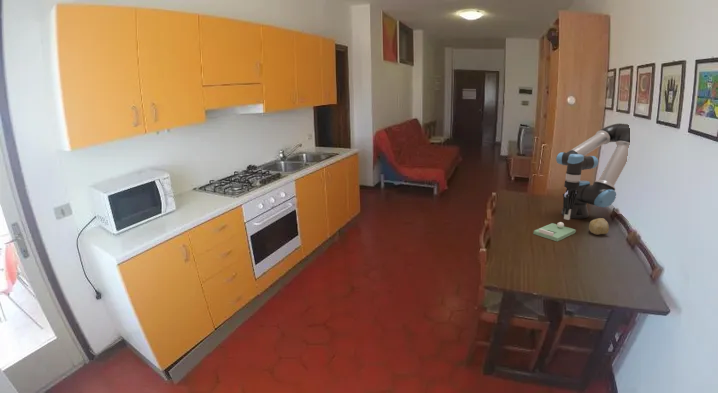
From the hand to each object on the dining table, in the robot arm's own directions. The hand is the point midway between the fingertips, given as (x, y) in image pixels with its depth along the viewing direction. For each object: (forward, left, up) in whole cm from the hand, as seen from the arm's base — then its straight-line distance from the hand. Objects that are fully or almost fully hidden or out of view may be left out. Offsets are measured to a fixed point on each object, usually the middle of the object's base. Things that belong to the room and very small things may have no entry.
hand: (566, 219), depth 217 cm
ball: (+7, 0, -2) cm, 7 cm away
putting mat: (+13, 0, -6) cm, 14 cm away
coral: (-5, +15, -6) cm, 17 cm away
